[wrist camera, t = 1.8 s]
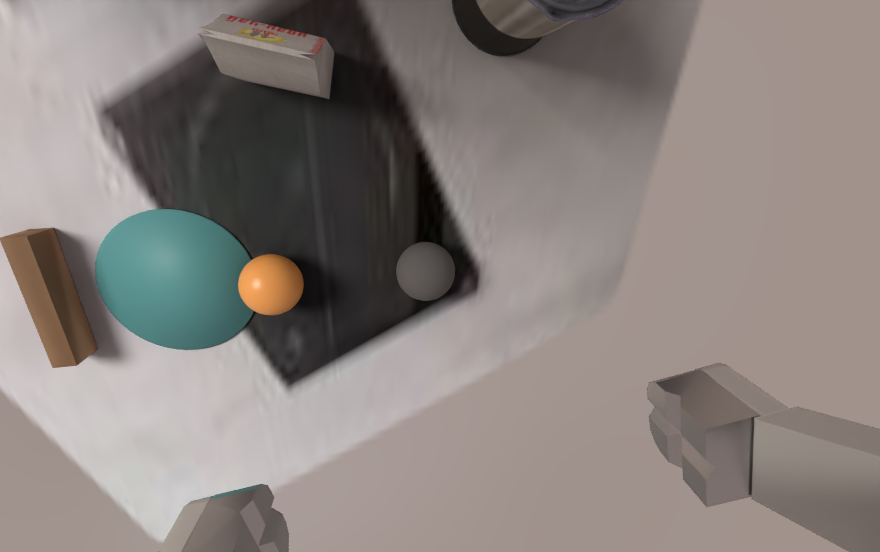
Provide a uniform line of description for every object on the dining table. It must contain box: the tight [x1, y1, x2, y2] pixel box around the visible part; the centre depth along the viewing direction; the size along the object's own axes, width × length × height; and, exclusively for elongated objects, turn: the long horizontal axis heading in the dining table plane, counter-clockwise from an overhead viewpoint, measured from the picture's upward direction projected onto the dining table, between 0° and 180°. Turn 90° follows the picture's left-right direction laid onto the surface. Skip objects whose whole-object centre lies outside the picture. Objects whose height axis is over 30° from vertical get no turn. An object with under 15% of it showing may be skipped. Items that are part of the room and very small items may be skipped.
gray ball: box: [396, 242, 455, 301], centre depth 40 cm, size 6×6×6 cm
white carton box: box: [199, 14, 334, 99], centre depth 31 cm, size 4×7×10 cm, turn 79°
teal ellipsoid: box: [95, 209, 254, 350], centre depth 40 cm, size 14×14×1 cm
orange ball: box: [238, 254, 304, 315], centre depth 38 cm, size 6×6×6 cm
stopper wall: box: [0, 228, 98, 368], centre depth 37 cm, size 2×12×3 cm, turn 2°
